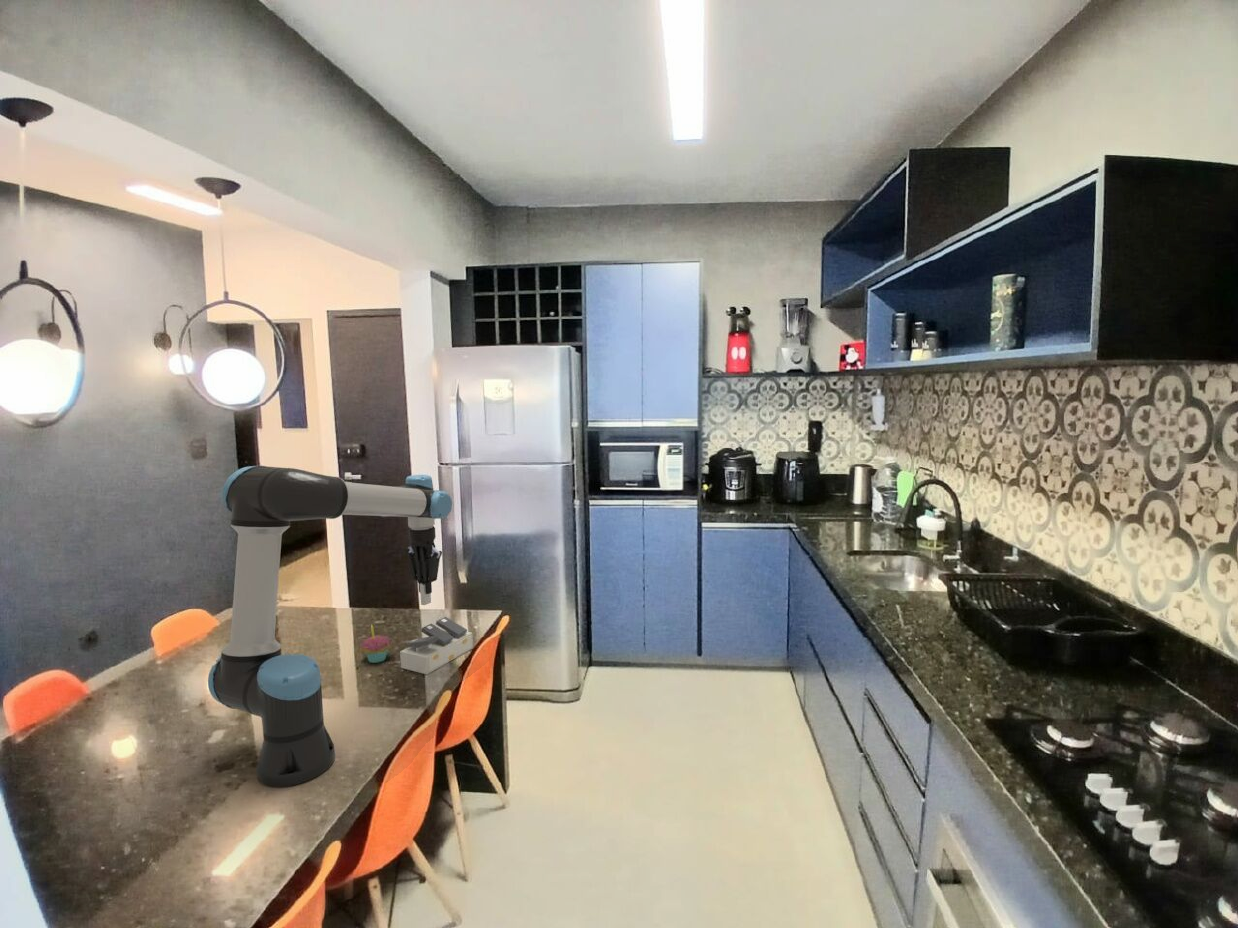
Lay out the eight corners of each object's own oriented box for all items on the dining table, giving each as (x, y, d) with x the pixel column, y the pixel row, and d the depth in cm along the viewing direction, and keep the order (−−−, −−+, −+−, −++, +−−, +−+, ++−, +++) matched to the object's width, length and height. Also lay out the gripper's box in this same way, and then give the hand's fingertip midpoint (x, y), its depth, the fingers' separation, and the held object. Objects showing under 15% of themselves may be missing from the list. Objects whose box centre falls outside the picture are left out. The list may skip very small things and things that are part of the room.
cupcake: (385, 665, 186) (382, 626, 184) (356, 665, 186) (354, 626, 184) (396, 653, 194) (393, 615, 193) (368, 653, 194) (366, 616, 193)
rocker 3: (457, 637, 192) (458, 633, 191) (435, 624, 195) (436, 620, 195) (466, 632, 195) (467, 629, 195) (444, 619, 199) (445, 616, 198)
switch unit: (427, 674, 179) (426, 653, 179) (401, 667, 184) (399, 646, 183) (473, 648, 197) (473, 628, 196) (448, 642, 202) (447, 623, 201)
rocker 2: (443, 645, 186) (443, 641, 186) (421, 631, 190) (421, 627, 189) (452, 640, 190) (453, 636, 189) (430, 626, 193) (431, 623, 193)
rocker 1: (428, 644, 180) (427, 640, 180) (406, 647, 184) (405, 643, 184) (438, 639, 184) (437, 635, 184) (416, 642, 188) (415, 638, 188)
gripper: (447, 526, 188) (451, 602, 191) (414, 522, 193) (419, 596, 196) (429, 531, 181) (433, 610, 184) (396, 527, 187) (400, 604, 190)
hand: (426, 603), depth 190 cm, fingers closed
